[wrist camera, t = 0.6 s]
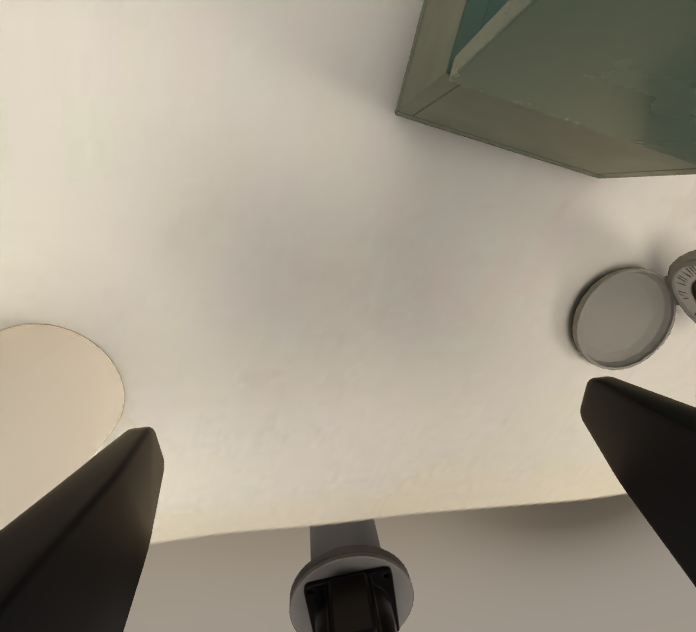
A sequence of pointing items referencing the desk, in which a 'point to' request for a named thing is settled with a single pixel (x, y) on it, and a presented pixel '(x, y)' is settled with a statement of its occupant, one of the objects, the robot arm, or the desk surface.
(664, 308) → the pocket watch
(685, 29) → the lid
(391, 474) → the desk surface
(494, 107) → the panel
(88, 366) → the cup
